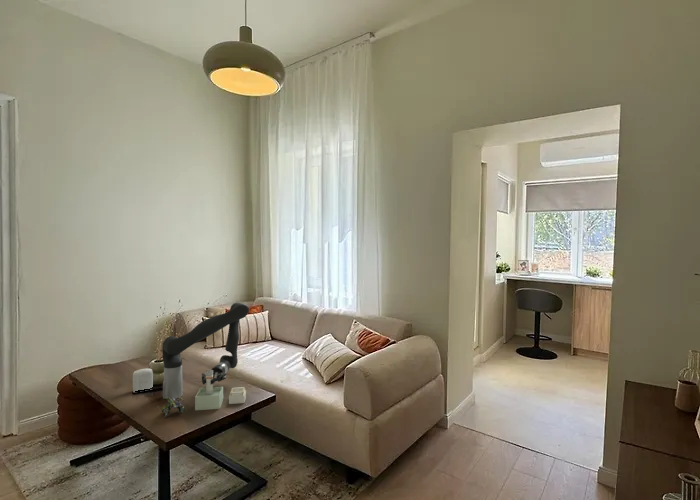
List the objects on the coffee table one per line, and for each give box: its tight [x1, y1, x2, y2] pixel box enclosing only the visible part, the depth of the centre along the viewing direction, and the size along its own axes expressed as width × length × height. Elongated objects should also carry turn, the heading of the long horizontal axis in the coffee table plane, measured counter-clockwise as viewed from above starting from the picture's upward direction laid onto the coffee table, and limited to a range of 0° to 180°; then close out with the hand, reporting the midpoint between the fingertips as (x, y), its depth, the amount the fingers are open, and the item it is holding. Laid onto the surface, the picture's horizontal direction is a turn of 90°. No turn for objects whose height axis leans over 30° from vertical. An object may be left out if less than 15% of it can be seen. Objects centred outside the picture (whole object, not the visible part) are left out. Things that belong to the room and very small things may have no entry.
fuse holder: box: [228, 386, 247, 405], centre depth 208 cm, size 8×8×6 cm
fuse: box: [205, 369, 214, 395], centre depth 202 cm, size 4×4×12 cm
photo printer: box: [132, 368, 154, 393], centre depth 221 cm, size 10×4×12 cm, turn 123°
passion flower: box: [156, 396, 185, 418], centre depth 190 cm, size 11×11×12 cm
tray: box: [194, 386, 224, 411], centre depth 203 cm, size 12×12×7 cm
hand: (207, 382), depth 200 cm, fingers closed on fuse, 3 cm apart
